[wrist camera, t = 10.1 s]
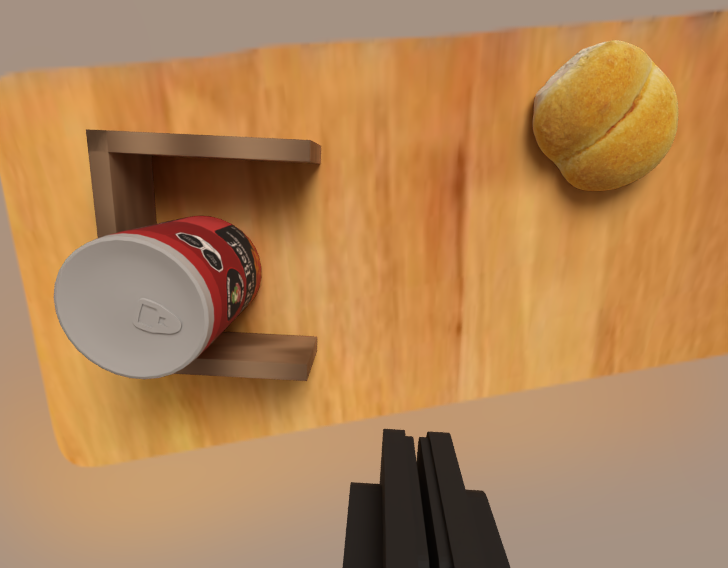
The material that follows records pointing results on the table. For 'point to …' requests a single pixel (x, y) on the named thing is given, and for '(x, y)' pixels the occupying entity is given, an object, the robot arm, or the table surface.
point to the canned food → (156, 294)
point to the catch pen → (137, 209)
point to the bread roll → (606, 116)
